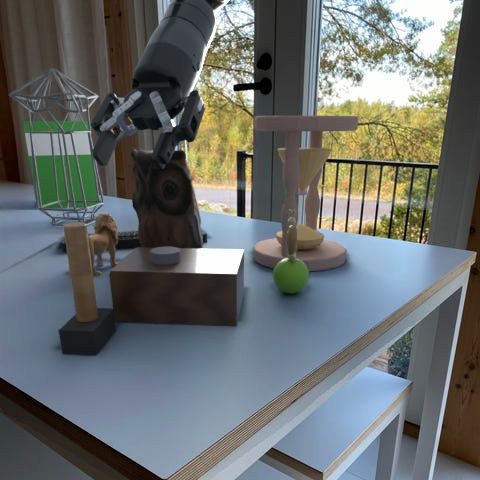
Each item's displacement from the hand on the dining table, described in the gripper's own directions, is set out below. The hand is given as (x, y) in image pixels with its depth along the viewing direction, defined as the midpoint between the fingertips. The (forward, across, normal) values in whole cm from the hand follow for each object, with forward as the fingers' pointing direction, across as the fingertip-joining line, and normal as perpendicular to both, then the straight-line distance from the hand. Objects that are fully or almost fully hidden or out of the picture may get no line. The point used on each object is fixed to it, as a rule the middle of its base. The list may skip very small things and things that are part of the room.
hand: (127, 162), depth 58 cm
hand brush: (+21, 0, +7) cm, 22 cm away
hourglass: (-11, +12, +39) cm, 42 cm away
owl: (-2, -7, +30) cm, 31 cm away
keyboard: (-10, -25, +38) cm, 46 cm away
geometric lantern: (-17, -50, +45) cm, 69 cm away
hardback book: (-32, -71, +60) cm, 98 cm away
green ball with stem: (+2, +16, +26) cm, 30 cm away
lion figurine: (+4, -19, +24) cm, 31 cm away
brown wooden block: (+11, +5, +17) cm, 21 cm away
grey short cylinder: (+7, +3, +11) cm, 13 cm away
